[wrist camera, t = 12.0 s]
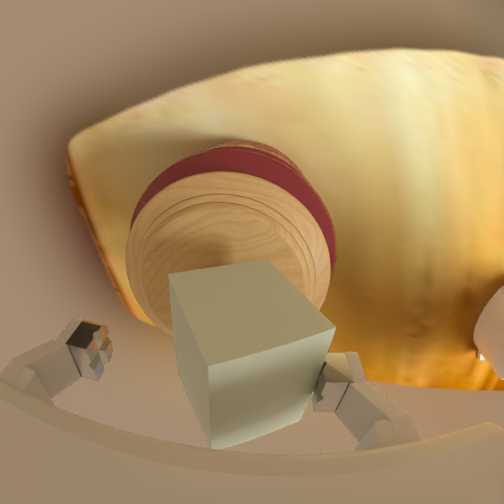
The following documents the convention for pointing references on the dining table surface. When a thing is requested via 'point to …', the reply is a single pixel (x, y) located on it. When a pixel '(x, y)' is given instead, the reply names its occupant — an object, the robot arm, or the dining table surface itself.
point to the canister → (229, 224)
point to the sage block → (245, 349)
